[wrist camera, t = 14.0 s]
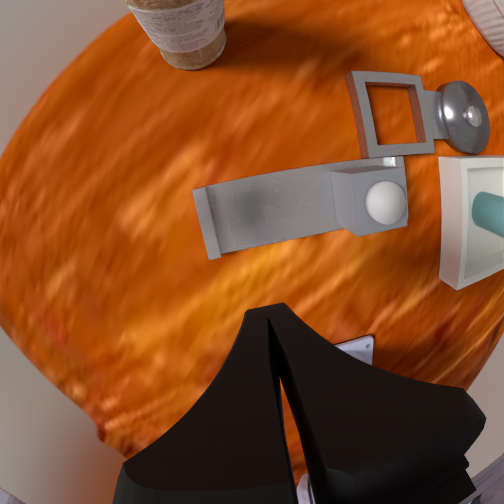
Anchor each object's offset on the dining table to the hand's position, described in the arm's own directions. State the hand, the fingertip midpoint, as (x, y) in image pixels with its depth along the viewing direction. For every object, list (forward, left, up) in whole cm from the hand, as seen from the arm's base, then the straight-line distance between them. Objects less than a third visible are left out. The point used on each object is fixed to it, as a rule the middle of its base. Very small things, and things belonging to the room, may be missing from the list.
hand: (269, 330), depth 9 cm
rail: (+2, -4, -10) cm, 12 cm away
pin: (-1, -22, -10) cm, 24 cm away
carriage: (+2, -8, -10) cm, 13 cm away
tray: (-1, -22, -10) cm, 24 cm away
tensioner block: (+8, -16, -10) cm, 21 cm away
